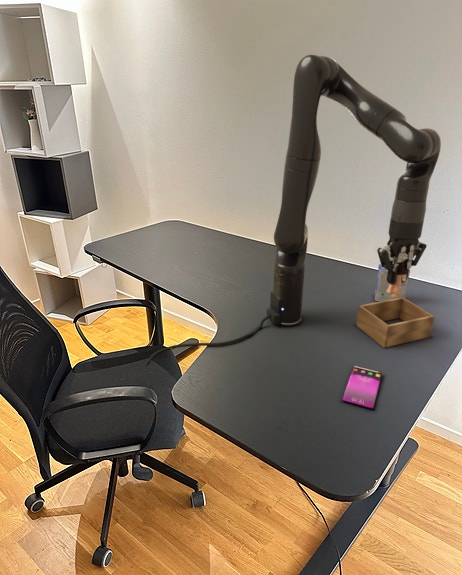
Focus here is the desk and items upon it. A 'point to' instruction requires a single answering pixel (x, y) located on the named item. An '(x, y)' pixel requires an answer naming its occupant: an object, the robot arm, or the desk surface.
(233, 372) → the desk surface
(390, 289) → the grandmother figurine
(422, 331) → the birch box
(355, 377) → the smartphone
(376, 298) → the ink cartridge box
